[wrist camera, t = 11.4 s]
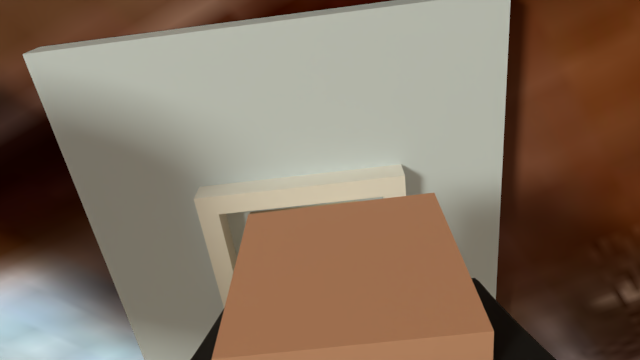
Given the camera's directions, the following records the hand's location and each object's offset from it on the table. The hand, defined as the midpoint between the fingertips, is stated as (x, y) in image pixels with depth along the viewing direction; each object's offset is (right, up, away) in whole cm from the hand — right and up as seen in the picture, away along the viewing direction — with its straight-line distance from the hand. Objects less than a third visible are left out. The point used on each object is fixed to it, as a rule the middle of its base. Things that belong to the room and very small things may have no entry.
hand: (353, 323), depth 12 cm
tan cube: (0, +1, +1) cm, 2 cm away
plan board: (-2, +1, +10) cm, 11 cm away
